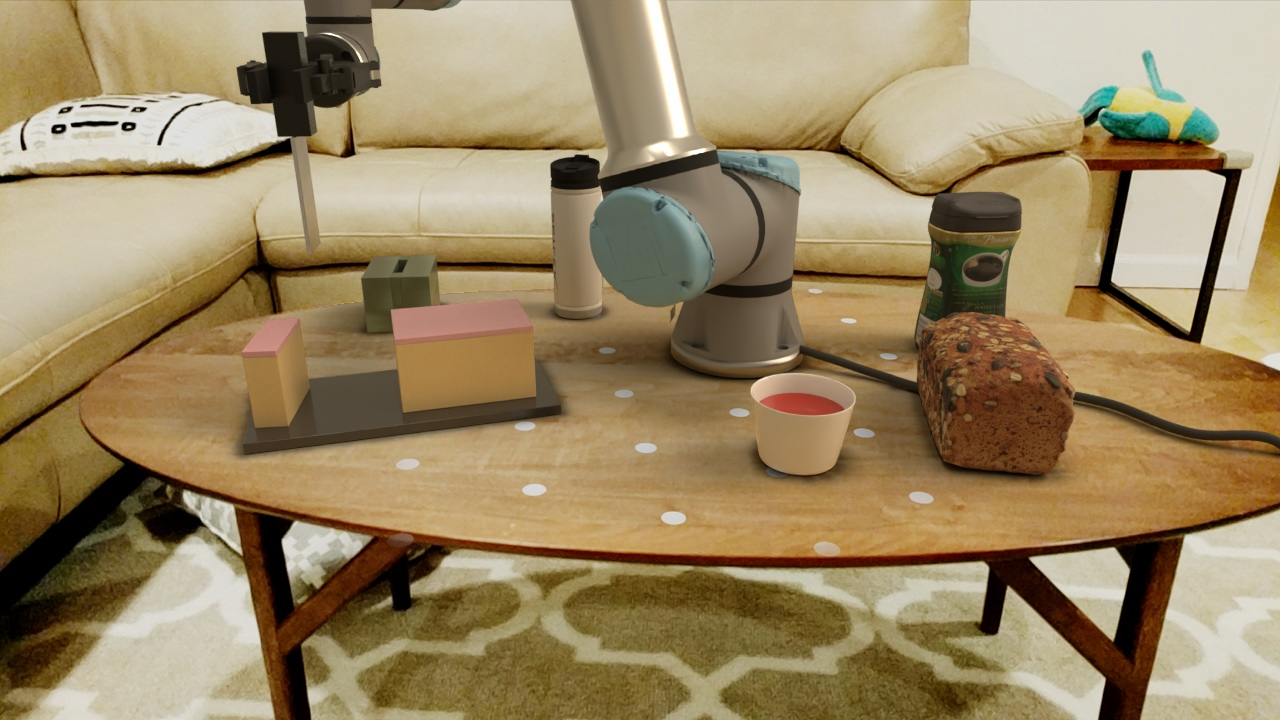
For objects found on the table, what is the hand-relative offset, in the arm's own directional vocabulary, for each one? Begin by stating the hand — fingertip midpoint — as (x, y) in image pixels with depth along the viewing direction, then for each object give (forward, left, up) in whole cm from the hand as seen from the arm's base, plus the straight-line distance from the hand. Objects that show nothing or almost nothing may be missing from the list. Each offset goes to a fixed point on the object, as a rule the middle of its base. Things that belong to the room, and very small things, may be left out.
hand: (275, 87), depth 74 cm
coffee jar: (-68, -21, -31) cm, 77 cm away
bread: (-64, 0, -31) cm, 71 cm away
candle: (-46, +7, -31) cm, 56 cm away
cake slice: (+3, +1, -30) cm, 30 cm away
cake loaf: (-13, -4, -30) cm, 33 cm away
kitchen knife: (+1, -5, -16) cm, 17 cm away
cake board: (-8, -2, -31) cm, 32 cm away
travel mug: (-22, -32, -31) cm, 49 cm away
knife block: (0, -28, -31) cm, 41 cm away
